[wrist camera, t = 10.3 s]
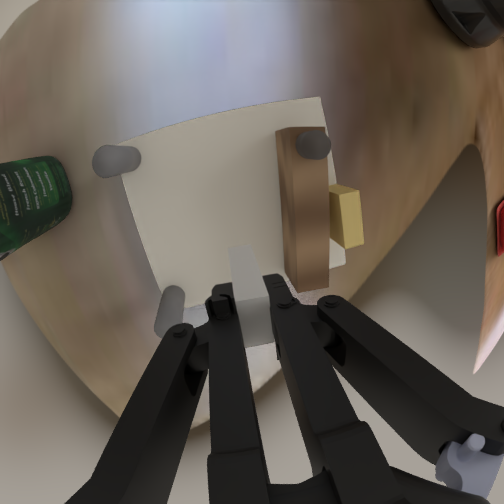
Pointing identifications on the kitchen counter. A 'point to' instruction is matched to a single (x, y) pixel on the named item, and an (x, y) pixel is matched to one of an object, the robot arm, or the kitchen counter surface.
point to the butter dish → (500, 228)
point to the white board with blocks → (218, 198)
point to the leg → (304, 205)
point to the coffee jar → (31, 200)
